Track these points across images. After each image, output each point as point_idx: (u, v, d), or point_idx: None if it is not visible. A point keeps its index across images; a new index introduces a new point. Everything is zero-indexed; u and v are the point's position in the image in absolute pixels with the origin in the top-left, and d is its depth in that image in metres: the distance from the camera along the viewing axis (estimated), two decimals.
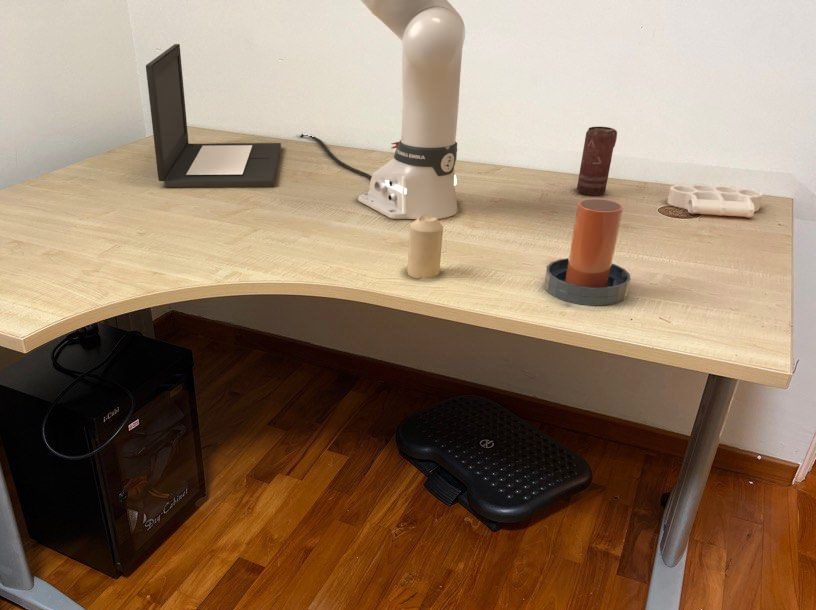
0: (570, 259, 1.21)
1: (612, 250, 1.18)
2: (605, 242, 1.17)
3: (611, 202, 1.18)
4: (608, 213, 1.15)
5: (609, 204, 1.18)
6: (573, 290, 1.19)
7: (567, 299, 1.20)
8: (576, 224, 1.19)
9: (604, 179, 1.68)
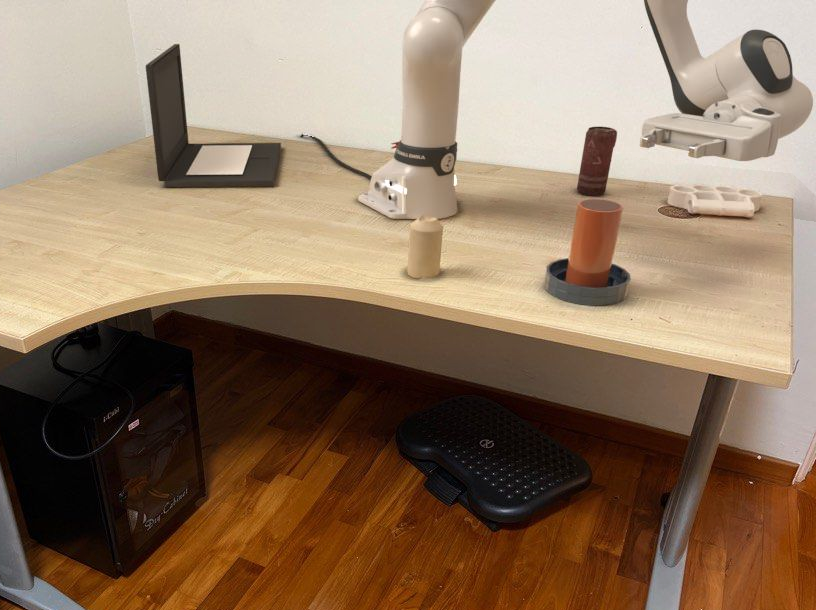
0: (570, 259, 1.21)
1: (612, 250, 1.18)
2: (605, 242, 1.17)
3: (611, 202, 1.18)
4: (608, 213, 1.15)
5: (609, 204, 1.18)
6: (573, 290, 1.19)
7: (567, 299, 1.20)
8: (576, 224, 1.19)
9: (604, 179, 1.68)
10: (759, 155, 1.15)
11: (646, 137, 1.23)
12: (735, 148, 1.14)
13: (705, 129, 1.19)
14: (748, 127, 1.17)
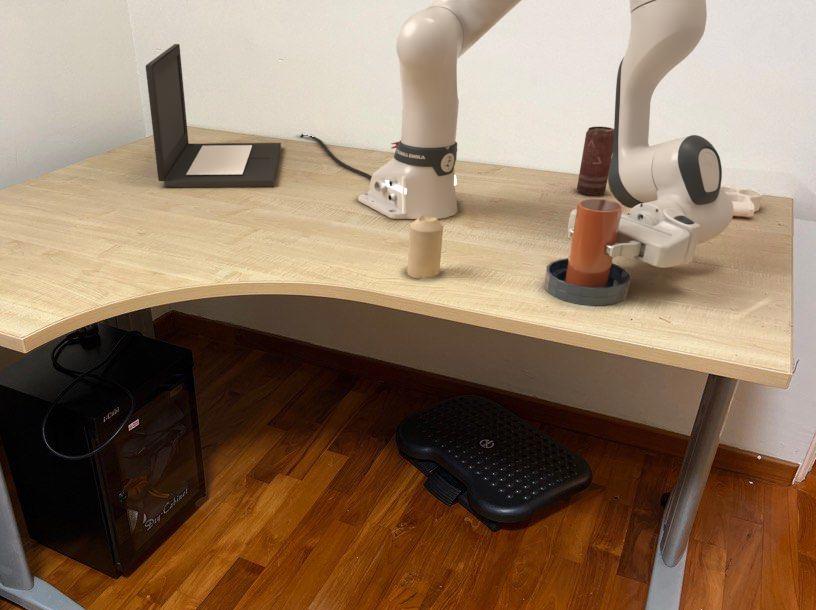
0: (570, 259, 1.21)
1: None
2: (605, 241, 1.17)
3: (611, 202, 1.18)
4: (608, 213, 1.15)
5: (608, 204, 1.18)
6: (573, 290, 1.19)
7: (567, 299, 1.20)
8: (576, 224, 1.19)
9: (604, 179, 1.68)
10: (676, 263, 1.17)
11: None
12: (653, 254, 1.15)
13: (628, 230, 1.19)
14: (668, 233, 1.18)
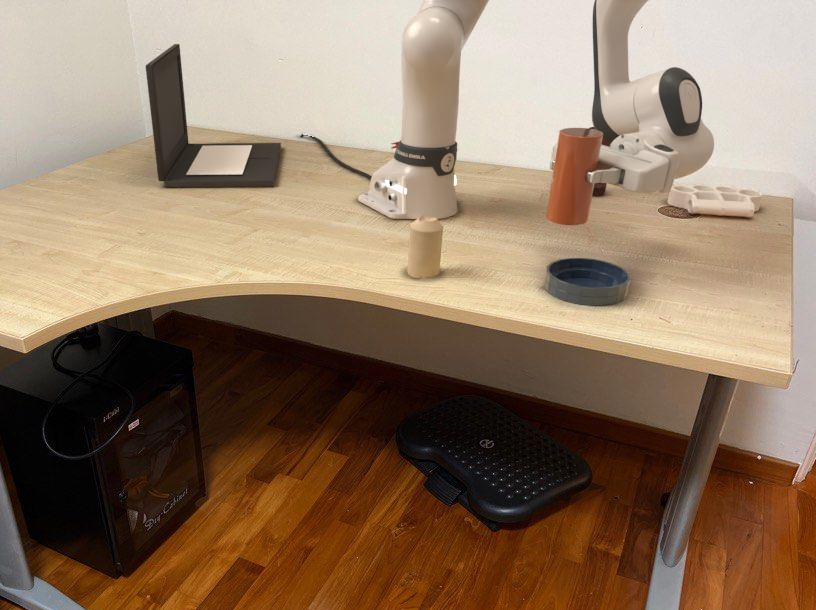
0: (552, 188, 1.23)
1: None
2: (585, 168, 1.19)
3: (592, 130, 1.20)
4: (588, 139, 1.16)
5: (589, 131, 1.19)
6: (573, 290, 1.19)
7: (567, 299, 1.20)
8: (557, 152, 1.20)
9: None
10: (655, 189, 1.18)
11: None
12: (632, 179, 1.17)
13: (608, 158, 1.21)
14: (648, 161, 1.20)
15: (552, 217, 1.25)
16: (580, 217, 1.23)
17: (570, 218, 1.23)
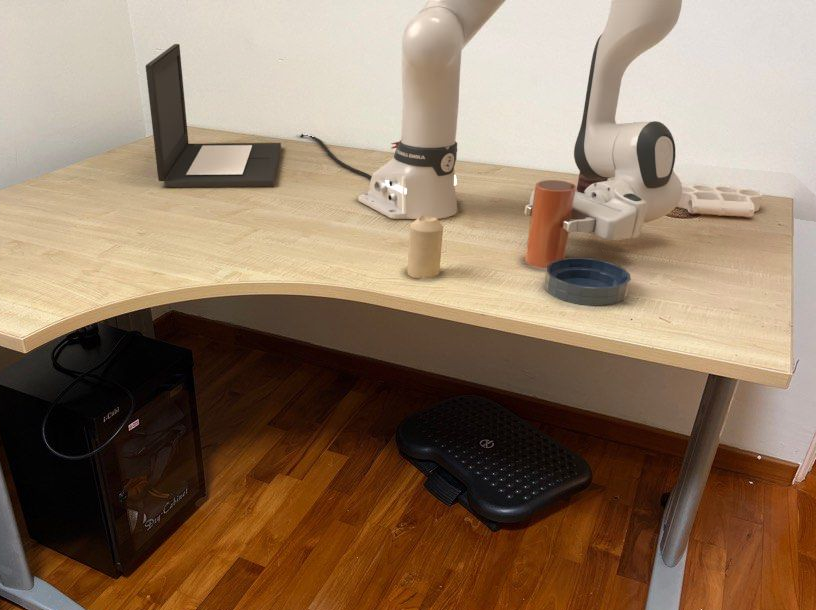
0: (529, 235, 1.33)
1: None
2: (560, 219, 1.28)
3: (566, 183, 1.29)
4: (562, 192, 1.26)
5: (563, 184, 1.29)
6: (573, 290, 1.19)
7: (567, 299, 1.20)
8: (534, 203, 1.30)
9: (604, 179, 1.68)
10: (624, 236, 1.28)
11: (530, 206, 1.34)
12: (602, 228, 1.26)
13: (581, 207, 1.30)
14: (617, 209, 1.29)
15: (530, 262, 1.34)
16: None
17: (546, 264, 1.32)
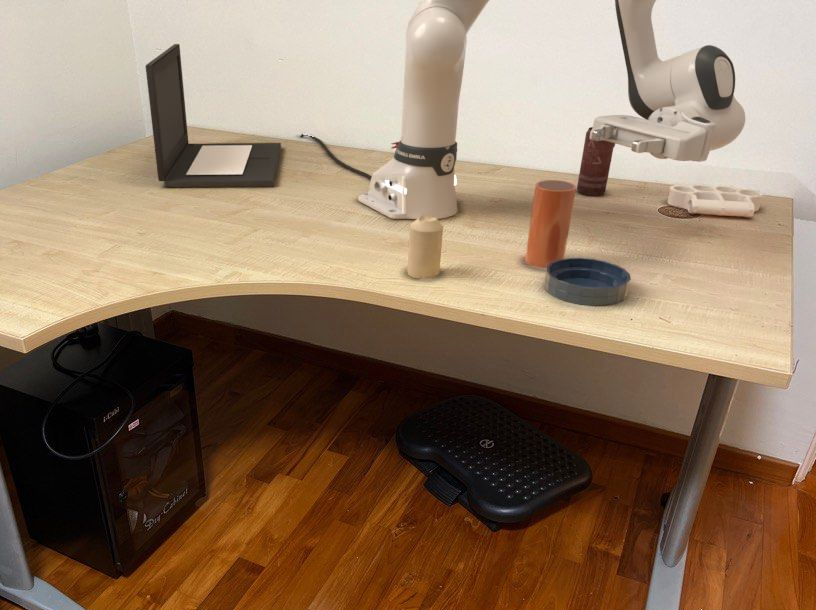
0: (529, 235, 1.33)
1: (567, 227, 1.30)
2: (560, 219, 1.28)
3: (566, 183, 1.29)
4: (562, 192, 1.26)
5: (563, 184, 1.29)
6: (573, 290, 1.19)
7: (567, 299, 1.20)
8: (534, 203, 1.30)
9: (604, 179, 1.68)
10: (693, 157, 1.27)
11: (596, 130, 1.33)
12: (673, 148, 1.26)
13: (649, 129, 1.30)
14: (686, 132, 1.29)
15: (530, 262, 1.34)
16: None
17: (546, 264, 1.32)
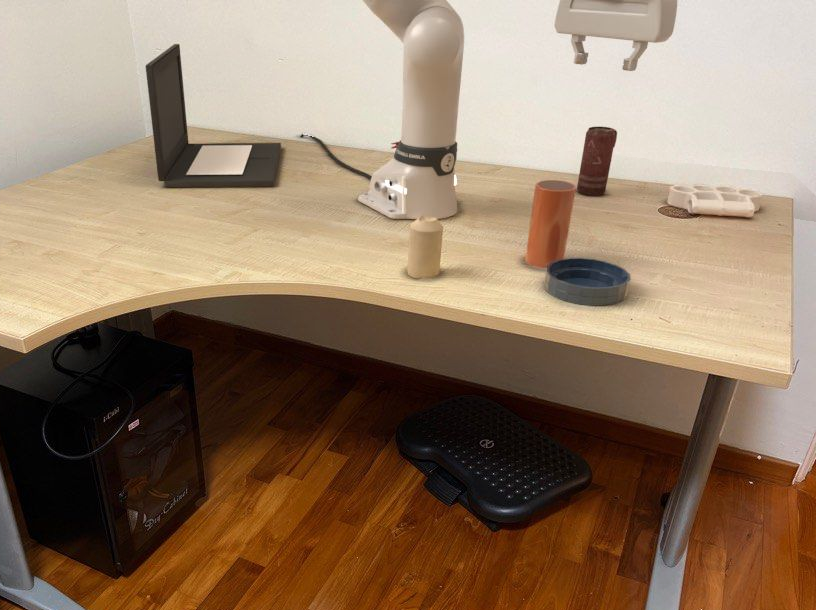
0: (529, 235, 1.33)
1: (567, 227, 1.30)
2: (560, 219, 1.28)
3: (566, 183, 1.29)
4: (562, 192, 1.26)
5: (563, 184, 1.29)
6: (573, 290, 1.19)
7: (567, 299, 1.20)
8: (534, 203, 1.30)
9: (604, 179, 1.68)
10: (675, 15, 1.19)
11: (579, 62, 1.31)
12: None
13: (615, 33, 1.23)
14: (643, 3, 1.19)
15: (530, 262, 1.34)
16: None
17: (546, 264, 1.32)
